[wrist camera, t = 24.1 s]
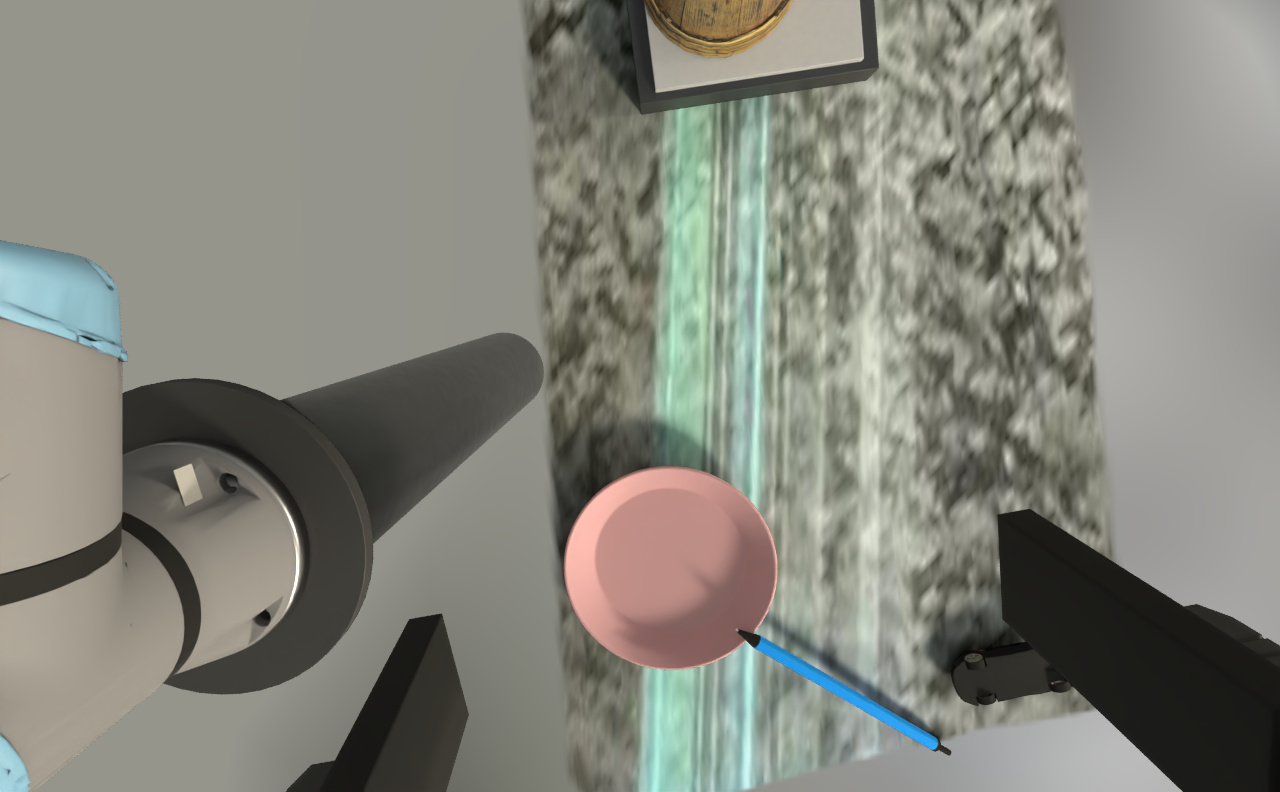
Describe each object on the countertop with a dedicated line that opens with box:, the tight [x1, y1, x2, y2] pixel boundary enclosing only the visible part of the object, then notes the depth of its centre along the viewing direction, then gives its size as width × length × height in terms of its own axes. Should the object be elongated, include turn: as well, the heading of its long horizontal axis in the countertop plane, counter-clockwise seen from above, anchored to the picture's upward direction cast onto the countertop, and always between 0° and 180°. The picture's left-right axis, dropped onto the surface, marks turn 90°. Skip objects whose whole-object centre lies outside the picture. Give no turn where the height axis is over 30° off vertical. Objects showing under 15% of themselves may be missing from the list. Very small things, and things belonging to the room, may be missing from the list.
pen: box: [735, 629, 951, 755], centre depth 46 cm, size 1×19×1 cm, turn 58°
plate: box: [564, 466, 777, 670], centre depth 46 cm, size 14×14×2 cm
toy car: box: [951, 642, 1073, 706], centre depth 46 cm, size 8×4×2 cm, turn 109°
